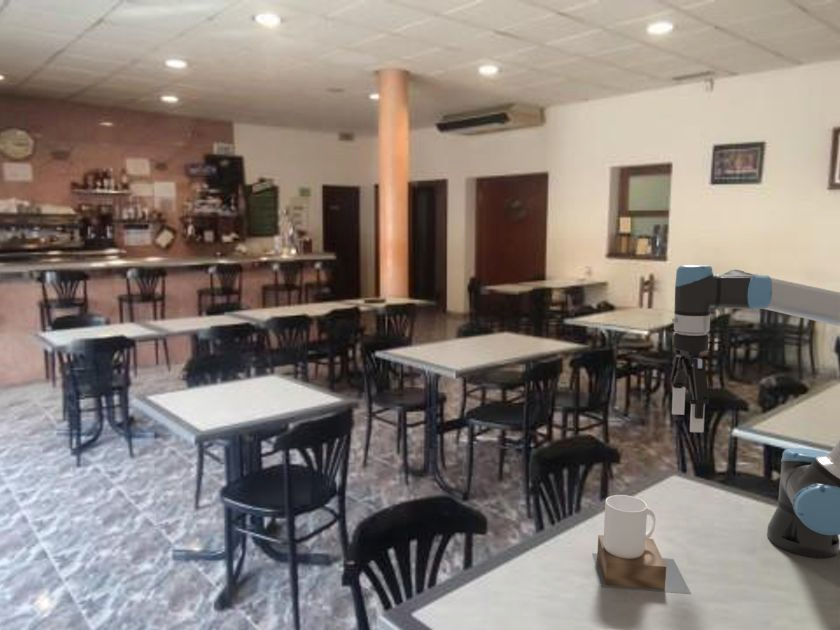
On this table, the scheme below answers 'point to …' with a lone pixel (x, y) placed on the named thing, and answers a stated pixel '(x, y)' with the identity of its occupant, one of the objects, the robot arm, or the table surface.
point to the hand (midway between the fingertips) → (686, 422)
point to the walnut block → (633, 567)
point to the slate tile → (672, 584)
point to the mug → (626, 526)
